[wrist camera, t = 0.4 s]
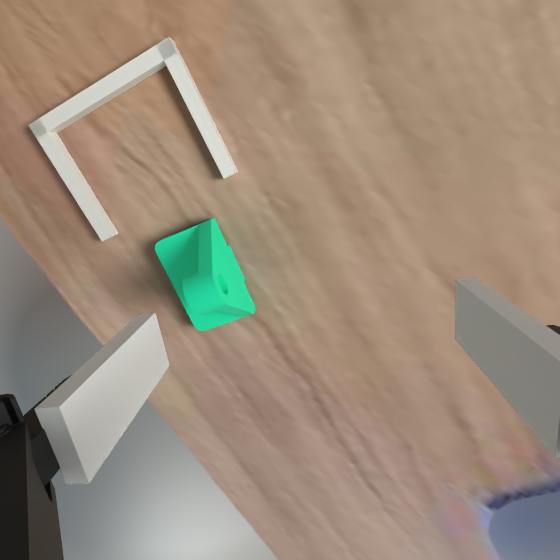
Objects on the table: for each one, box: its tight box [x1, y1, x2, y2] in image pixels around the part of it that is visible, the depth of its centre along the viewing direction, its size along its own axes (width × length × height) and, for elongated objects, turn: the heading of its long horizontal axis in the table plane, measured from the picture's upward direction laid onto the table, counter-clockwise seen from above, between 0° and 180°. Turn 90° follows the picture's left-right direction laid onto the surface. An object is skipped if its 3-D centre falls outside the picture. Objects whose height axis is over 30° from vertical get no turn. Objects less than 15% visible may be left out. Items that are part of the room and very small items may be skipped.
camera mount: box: [155, 218, 256, 331], centre depth 39 cm, size 12×8×10 cm, turn 22°
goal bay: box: [28, 37, 238, 241], centre depth 39 cm, size 14×18×2 cm
